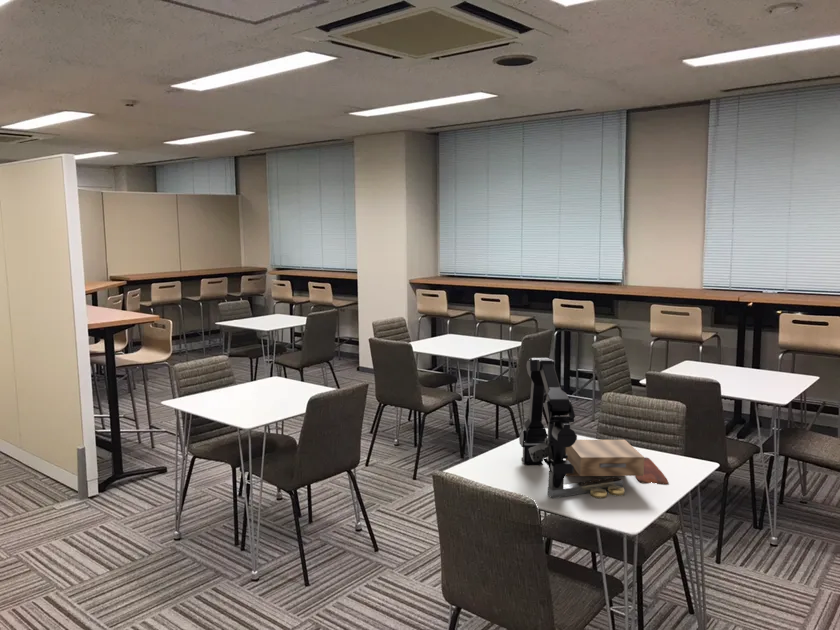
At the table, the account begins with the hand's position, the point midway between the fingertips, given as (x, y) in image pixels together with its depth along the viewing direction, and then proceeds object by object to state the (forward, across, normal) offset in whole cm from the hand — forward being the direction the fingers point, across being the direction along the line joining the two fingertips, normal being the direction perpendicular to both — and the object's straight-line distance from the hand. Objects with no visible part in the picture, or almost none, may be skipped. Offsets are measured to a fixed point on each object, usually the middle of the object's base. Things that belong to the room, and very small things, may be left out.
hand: (555, 485), depth 204 cm
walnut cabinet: (+3, -10, +18) cm, 21 cm away
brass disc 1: (+3, 0, +14) cm, 14 cm away
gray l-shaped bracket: (+3, -3, +11) cm, 12 cm away
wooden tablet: (+4, -23, +37) cm, 44 cm away
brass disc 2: (+3, -2, +20) cm, 20 cm away
